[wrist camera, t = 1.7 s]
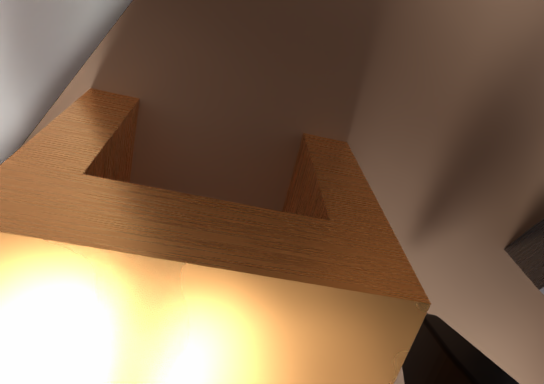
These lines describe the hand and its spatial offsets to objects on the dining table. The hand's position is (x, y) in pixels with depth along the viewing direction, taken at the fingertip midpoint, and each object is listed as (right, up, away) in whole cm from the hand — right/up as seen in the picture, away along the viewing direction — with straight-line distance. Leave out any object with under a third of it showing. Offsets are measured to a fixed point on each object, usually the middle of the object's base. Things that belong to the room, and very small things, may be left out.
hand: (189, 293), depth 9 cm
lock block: (0, +1, +1) cm, 2 cm away
